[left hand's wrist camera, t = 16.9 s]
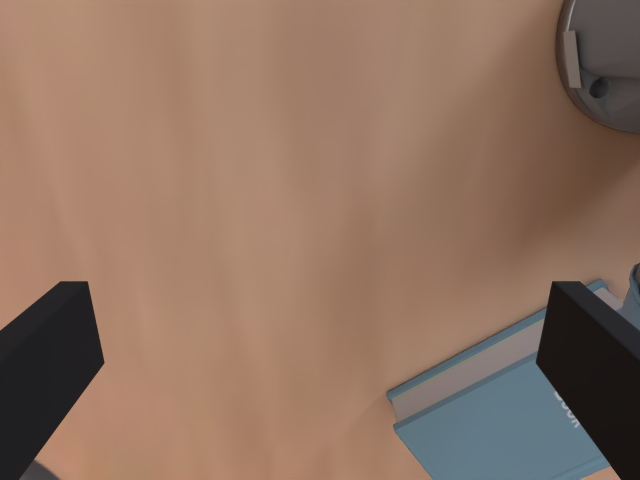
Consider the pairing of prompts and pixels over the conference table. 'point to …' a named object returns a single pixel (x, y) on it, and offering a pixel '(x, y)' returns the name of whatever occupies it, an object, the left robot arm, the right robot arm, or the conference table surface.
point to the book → (496, 413)
